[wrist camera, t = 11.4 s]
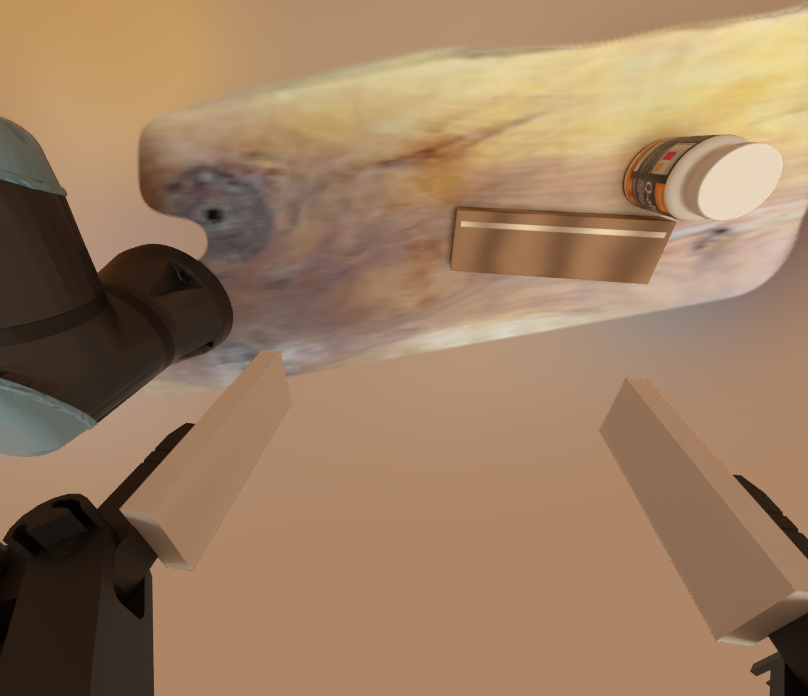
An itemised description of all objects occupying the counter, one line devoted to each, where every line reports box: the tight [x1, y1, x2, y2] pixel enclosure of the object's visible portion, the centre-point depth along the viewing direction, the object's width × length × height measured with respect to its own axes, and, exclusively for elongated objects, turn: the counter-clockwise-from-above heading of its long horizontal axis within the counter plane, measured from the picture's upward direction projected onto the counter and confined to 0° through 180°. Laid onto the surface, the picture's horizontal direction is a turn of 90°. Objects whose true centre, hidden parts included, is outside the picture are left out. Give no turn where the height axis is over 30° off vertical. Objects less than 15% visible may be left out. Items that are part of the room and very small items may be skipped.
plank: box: [450, 207, 676, 284], centre depth 32 cm, size 20×6×3 cm, turn 88°
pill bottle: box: [624, 134, 783, 221], centre depth 25 cm, size 6×6×10 cm
